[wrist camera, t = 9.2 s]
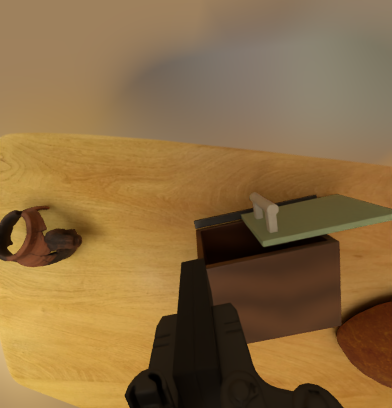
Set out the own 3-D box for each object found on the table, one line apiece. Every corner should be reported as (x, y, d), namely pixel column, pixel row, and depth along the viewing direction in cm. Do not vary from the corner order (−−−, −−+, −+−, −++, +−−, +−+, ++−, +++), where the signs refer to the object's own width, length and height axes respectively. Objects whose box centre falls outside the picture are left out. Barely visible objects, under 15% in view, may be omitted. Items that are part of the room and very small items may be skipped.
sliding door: (237, 192, 31) (258, 210, 21) (336, 170, 30) (405, 178, 20) (241, 218, 32) (263, 247, 22) (337, 198, 31) (402, 218, 22)
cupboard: (193, 220, 33) (195, 257, 21) (315, 194, 32) (386, 217, 20) (209, 286, 36) (218, 349, 25) (319, 264, 35) (381, 318, 24)
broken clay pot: (43, 263, 35) (-18, 269, 27) (49, 212, 36) (-5, 204, 29) (97, 263, 31) (47, 271, 24) (101, 207, 33) (56, 197, 25)
